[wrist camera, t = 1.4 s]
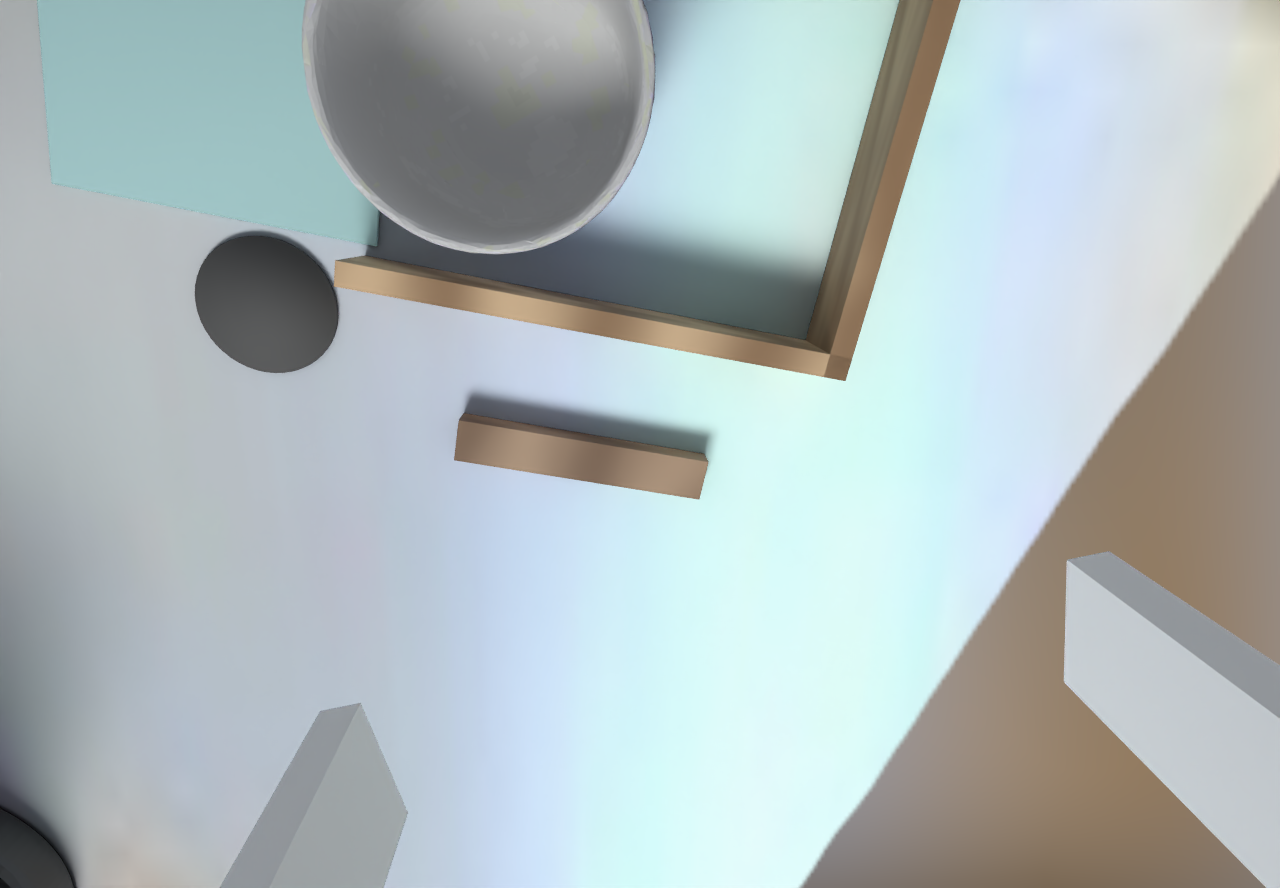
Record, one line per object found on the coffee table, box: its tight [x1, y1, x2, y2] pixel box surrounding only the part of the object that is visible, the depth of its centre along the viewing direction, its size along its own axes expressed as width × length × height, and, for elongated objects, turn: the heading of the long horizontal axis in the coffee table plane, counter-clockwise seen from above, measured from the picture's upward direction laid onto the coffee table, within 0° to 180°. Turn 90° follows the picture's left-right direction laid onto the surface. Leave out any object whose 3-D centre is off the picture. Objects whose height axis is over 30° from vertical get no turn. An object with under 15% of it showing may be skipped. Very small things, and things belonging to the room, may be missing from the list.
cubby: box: [334, 0, 960, 381], centre depth 26 cm, size 22×19×4 cm
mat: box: [37, 0, 380, 246], centre depth 25 cm, size 13×16×1 cm
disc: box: [195, 236, 338, 373], centre depth 29 cm, size 6×6×1 cm
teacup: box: [302, 0, 655, 254], centre depth 23 cm, size 14×11×8 cm
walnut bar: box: [454, 413, 708, 499], centre depth 32 cm, size 12×2×2 cm, turn 79°
